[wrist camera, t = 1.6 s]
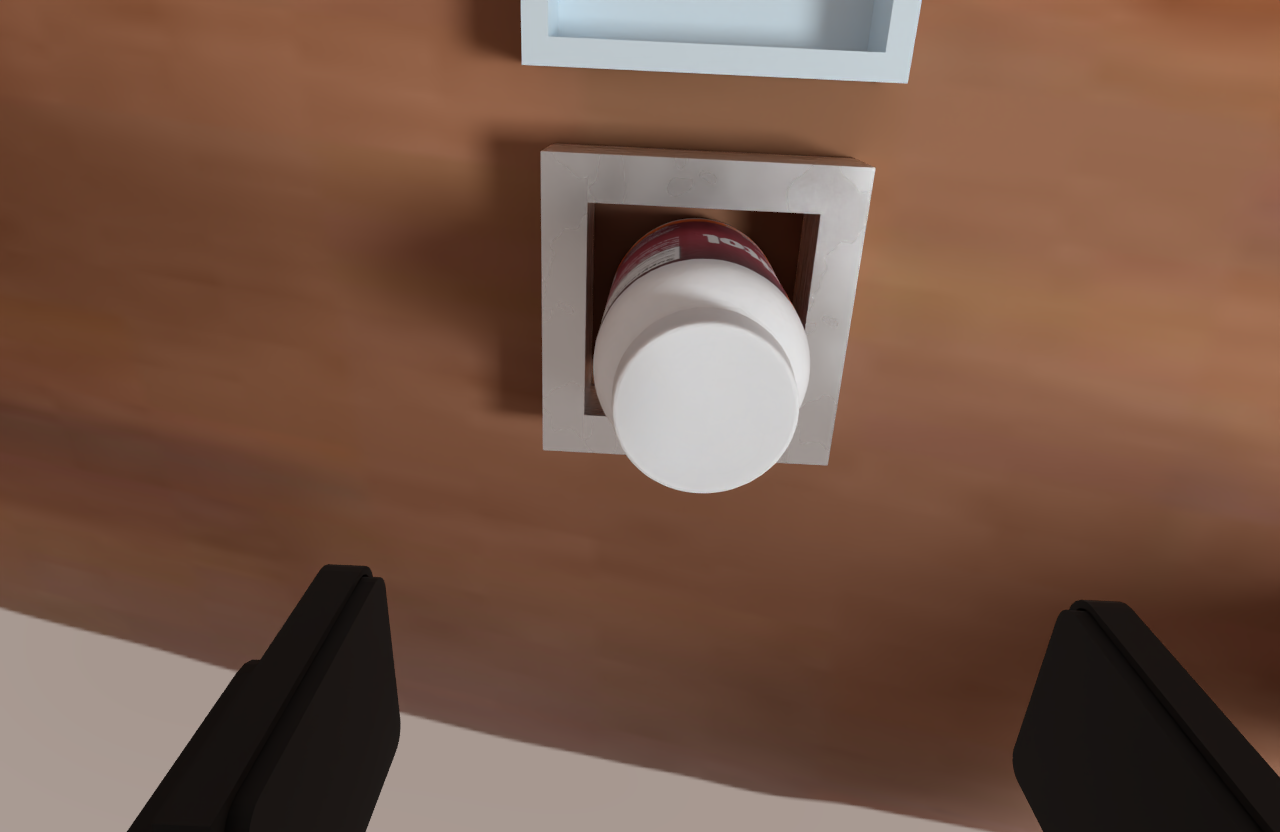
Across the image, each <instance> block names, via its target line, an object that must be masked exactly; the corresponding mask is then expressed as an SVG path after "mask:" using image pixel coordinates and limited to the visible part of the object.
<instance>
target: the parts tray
mask: <svg viewBox="0 0 1280 832" xmlns="http://www.w3.org/2000/svg"><path fill="white" fill-rule="evenodd" d="M921 2H922V0H521V49H522V65H537V66H557V67H578V68H599V69H619V70H640V71H661V72H681V73H702V74H723V75H743V76H764V77H785V78H806V79H826V80H847V81H868V82H889V83H908V78H909V72H910V66H911V61H912V55H913V49H914V43H915V37H916V31H917V25H918V19H919V14H920V8H921Z"/></svg>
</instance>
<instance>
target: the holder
mask: <svg viewBox="0 0 1280 832" xmlns="http://www.w3.org/2000/svg"><path fill="white" fill-rule="evenodd" d="M874 174H875V167H873V166H871V165H868V164H866V163H864V162H862V161H860V160H858V159H855V158H844V157H823V156H803V155H783V154H763V153H743V152H722V151H702V150H682V149H662V148H641V147H621V146H601V145H581V144H560V143H553V144H551V145H550V146H548V147H546V148H545V149H543V150H542V151H541V265H542V394H543V450H550V451H569V452H587V453H606V454H624V455H626V454H625V452H624V451H623V449H622V447H621V446H620V444H619V442H618V439H617V437H616V434H615V431H614V427H613V426H612V424H611V423H610V421H609V420H608V418H607V416H606V415H605V413H604V411H603V409H602V407H601V404H600V402H599V399H598V396H597V392H596V388H595V385H591V382H592V332H593V282H594V232H595V203H608V204H628V205H648V206H668V207H688V208H708V209H728V210H748V211H767V212H787V213H804V216H803V223H802V231H801V239H800V247H799V255H798V263H797V270H796V278H795V286H794V294H793V302H792V305H793V307H794V308H795V310H796V312H797V314H798V316H799V318H800V320H801V323H802V325H803V328H804V330H805V333H806V336H807V341H808V346H809V351H810V375H809V382H808V386H807V390H806V394H805V397H804V399H803V402H802V404H801V406H800V409H799V415H798V422H797V426H796V429H795V432H794V435H793V437H792V440H791V442H790V444H789V446H788V447H787V449H786V450H785V452H784V453H783V455H782V456H781V457H780V458H779V460H778V461H777V462H776V463H791V464H810V465H828V460H829V453H830V447H831V441H832V435H833V429H834V422H835V416H836V410H837V404H838V398H839V391H840V385H841V379H842V373H843V366H844V360H845V354H846V348H847V342H848V335H849V329H850V323H851V317H852V311H853V304H854V298H855V292H856V286H857V280H858V273H859V267H860V261H861V255H862V248H863V242H864V236H865V230H866V224H867V217H868V211H869V205H870V199H871V193H872V186H873V180H874Z"/></svg>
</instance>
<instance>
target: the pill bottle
mask: <svg viewBox="0 0 1280 832" xmlns="http://www.w3.org/2000/svg"><path fill="white" fill-rule="evenodd" d="M593 375H594V383H595V388H596V392H597V396H598V399H599V402H600V404H601V407H602V409H603V411H604V413H605V415H606V416H607V418H608V420H609V421H610V423H611V424H612V426H613V427H614V431H615V434H616V437H617V439H618V442H619V444H620V446H621V447H622V449H623V451H624V452H625V454H626V456H627V457H628V458H629V459H630V461H631V462H632V463H633V464H634V465H635V466H636V467H637V468H638V469H639V470H640V471H642V472H643V473H644V474H645V475H647V476H648V477H649V478H651V479H653V480H654V481H656V482H658V483H660V484H662V485H664V486H667V487H670V488H673V489H676V490H680V491H684V492H691V493H715V492H722V491H727V490H731V489H734V488H737V487H739V486H742V485H744V484H747V483H749V482H751V481H753V480H754V479H756V478H757V477H759V476H761V475H762V474H763V473H765V472H766V471H767V470H769V469H770V468H771V467H772V466H773V465H774V464H775V463H776V462H777V461H778V460H779V458H780V457H781V456H782V455H783V453H784V452H785V450H786V449H787V447H788V446H789V444H790V442H791V440H792V437H793V435H794V432H795V429H796V426H797V422H798V415H799V409H800V406H801V404H802V402H803V399H804V397H805V394H806V390H807V386H808V382H809V375H810V351H809V346H808V341H807V336H806V333H805V330H804V328H803V325H802V323H801V320H800V318H799V316H798V314H797V312H796V310H795V308H794V307H793V305H792V303H791V301H790V300H789V298H788V296H787V294H786V292H785V291H784V289H783V287H782V286H781V284H780V282H779V280H778V278H777V277H776V275H775V273H774V271H773V269H772V267H771V265H770V263H769V261H768V260H767V258H766V256H765V255H764V253H763V252H762V251H761V249H760V248H759V247H758V246H757V245H756V244H755V243H754V242H753V241H752V240H751V239H750V238H749V237H748V236H746V235H745V234H744V233H742V232H740V231H739V230H737V229H735V228H733V227H732V226H730V225H727V224H725V223H722V222H719V221H715V220H711V219H704V218H686V219H680V220H675V221H672V222H668V223H666V224H663V225H661V226H659V227H657V228H655V229H653V230H651V231H650V232H648V233H647V234H645V235H644V236H643V237H642V238H640V239H639V240H638V241H637V242H636V243H635V244H634V245H633V246H632V247H631V248H630V250H629V251H628V252H627V253H626V255H625V256H624V258H623V259H622V261H621V263H620V264H619V266H618V268H617V271H616V273H615V276H614V279H613V282H612V286H611V289H610V293H609V297H608V300H607V304H606V307H605V311H604V315H603V318H602V322H601V325H600V328H599V332H598V335H597V339H596V344H595V350H594V357H593Z"/></svg>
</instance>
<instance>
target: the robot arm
mask: <svg viewBox="0 0 1280 832" xmlns="http://www.w3.org/2000/svg"><path fill="white" fill-rule="evenodd" d="M399 736H400V713H399V705H398V696H397V687H396V678H395V669H394V660H393V651H392V642H391V633H390V624H389V615H388V606H387V597H386V588H385V583H384V580H383V579H382V578H381V577H373V576H372V572H371V570H370V568H369V567H367V566H353V565H332V564H328V565H325V566H323V568H322V569H321V570H320V571H319V573H318V574H317V576H316V577H315V579H314V580H313V582H312V583H311V585H310V586H309V588H308V589H307V591H306V592H305V594H304V595H303V597H302V598H301V600H300V601H299V603H298V604H297V606H296V607H295V609H294V610H293V612H292V613H291V615H290V616H289V618H288V619H287V621H286V622H285V624H284V625H283V627H282V628H281V630H280V631H279V633H278V634H277V636H276V637H275V639H274V640H273V642H272V643H271V645H270V646H269V648H268V649H267V651H266V652H265V654H264V655H263V657H262V658H261V660H251V661H249V662H247V663H245V664H244V665H243V666H242V667H241V669H240V670H239V671H238V672H237V673H236V675H235V676H234V677H233V679H232V680H231V682H230V683H229V685H228V686H227V688H226V689H225V691H224V692H223V693H222V695H221V696H220V698H219V699H218V701H217V702H216V704H215V705H214V707H213V708H212V709H211V711H210V712H209V714H208V715H207V717H206V718H205V719H204V721H203V722H202V724H201V725H200V727H199V728H198V730H197V731H196V733H195V734H194V735H193V737H192V738H191V740H190V741H189V743H188V744H187V746H186V747H185V748H184V750H183V751H182V753H181V754H180V756H179V757H178V759H177V760H176V761H175V763H174V765H173V766H172V767H171V769H170V770H169V772H168V773H167V775H166V776H165V777H164V779H163V780H162V782H161V783H160V785H159V786H158V788H157V789H156V791H155V792H154V793H153V795H152V797H151V798H150V799H149V801H148V802H147V803H146V805H145V807H144V808H143V809H142V811H141V812H140V814H139V815H138V817H137V818H136V819H135V821H134V822H133V824H132V825H131V827H130V828H129V830H128V831H127V832H366V829H367V826H368V824H369V821H370V818H371V816H372V813H373V810H374V808H375V805H376V803H377V800H378V797H379V795H380V792H381V789H382V787H383V784H384V781H385V779H386V776H387V774H388V771H389V768H390V766H391V763H392V760H393V757H394V755H395V752H396V749H397V746H398V742H399ZM1013 768H1014V772H1015V776H1016V778H1017V781H1018V783H1019V785H1020V787H1021V789H1022V791H1023V793H1024V795H1025V797H1026V799H1027V801H1028V803H1029V805H1030V806H1031V808H1032V810H1033V812H1034V814H1035V816H1036V818H1037V820H1038V822H1039V824H1040V826H1041V828H1042V830H1043V832H1280V777H1279V776H1278V775H1277V774H1276V773H1275V772H1274V770H1273V769H1272V768H1271V767H1270V766H1269V765H1268V764H1267V762H1266V761H1265V760H1264V759H1263V758H1262V757H1261V756H1260V754H1259V753H1258V752H1257V751H1256V750H1255V749H1254V748H1253V746H1252V745H1251V744H1250V743H1249V742H1248V741H1247V740H1246V739H1245V737H1244V736H1243V735H1242V734H1241V733H1240V732H1239V731H1238V729H1237V728H1236V727H1235V726H1234V725H1233V724H1232V723H1231V721H1230V720H1229V719H1228V718H1227V717H1226V716H1225V715H1224V713H1223V712H1222V711H1221V710H1220V709H1219V708H1218V707H1217V705H1216V704H1215V703H1214V702H1213V701H1212V700H1211V699H1210V698H1209V696H1208V695H1207V694H1206V693H1205V692H1204V691H1203V690H1202V688H1201V687H1200V686H1199V685H1198V684H1197V683H1196V682H1195V680H1194V679H1193V678H1192V677H1191V676H1190V675H1189V674H1188V672H1187V671H1186V670H1185V669H1184V668H1183V667H1182V666H1181V664H1180V663H1179V662H1178V661H1177V660H1176V659H1175V658H1174V657H1173V655H1172V654H1171V653H1170V652H1169V651H1168V650H1167V649H1166V647H1165V646H1164V645H1163V644H1162V643H1161V642H1160V641H1159V639H1158V638H1157V637H1156V636H1155V635H1154V634H1153V633H1152V631H1151V630H1150V629H1149V628H1148V627H1147V626H1146V625H1145V623H1144V622H1143V621H1142V620H1141V619H1140V618H1139V617H1138V616H1137V614H1136V613H1135V612H1134V611H1133V610H1132V609H1131V608H1130V607H1129V606H1128V605H1127V604H1125V603H1122V602H1114V601H1093V600H1079V601H1075V602H1074V603H1073V604H1072V605H1071V607H1070V609H1069V610H1064V611H1062V612H1061V613H1060V614H1059V616H1058V618H1057V621H1056V624H1055V627H1054V630H1053V633H1052V636H1051V639H1050V642H1049V645H1048V648H1047V651H1046V654H1045V657H1044V660H1043V663H1042V666H1041V669H1040V672H1039V675H1038V678H1037V681H1036V684H1035V687H1034V690H1033V693H1032V696H1031V699H1030V702H1029V705H1028V708H1027V711H1026V714H1025V717H1024V720H1023V723H1022V726H1021V729H1020V732H1019V735H1018V738H1017V741H1016V744H1015V747H1014V751H1013Z"/></svg>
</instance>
